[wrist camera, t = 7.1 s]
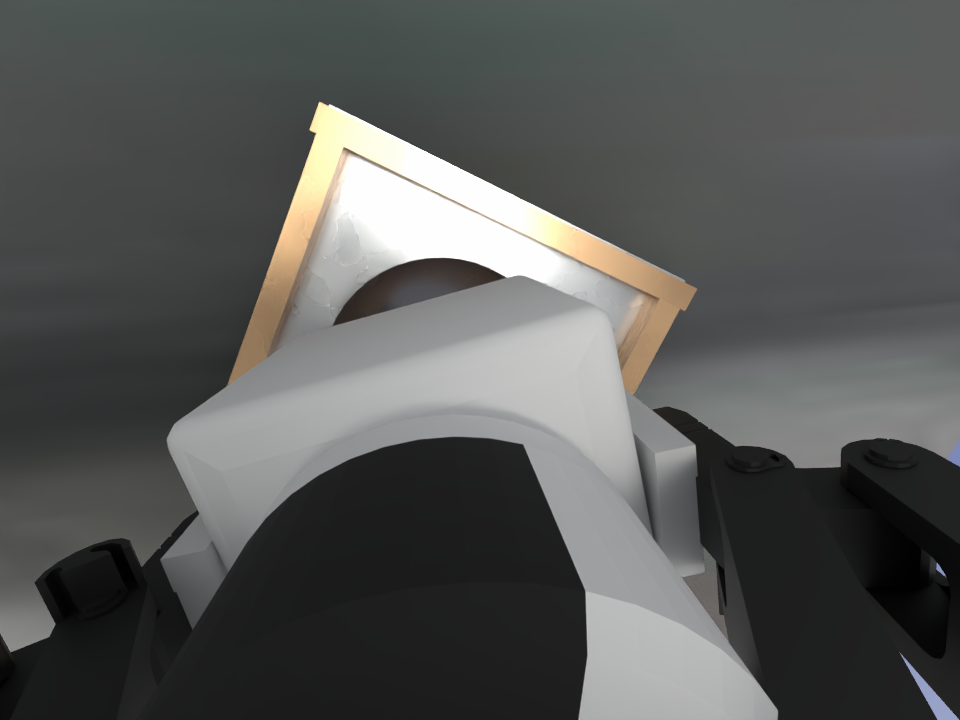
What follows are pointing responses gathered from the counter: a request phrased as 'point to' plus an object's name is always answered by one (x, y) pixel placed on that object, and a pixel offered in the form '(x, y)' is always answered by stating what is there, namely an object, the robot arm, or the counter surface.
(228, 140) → the counter surface
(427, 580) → the container
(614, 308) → the wooden square frame
